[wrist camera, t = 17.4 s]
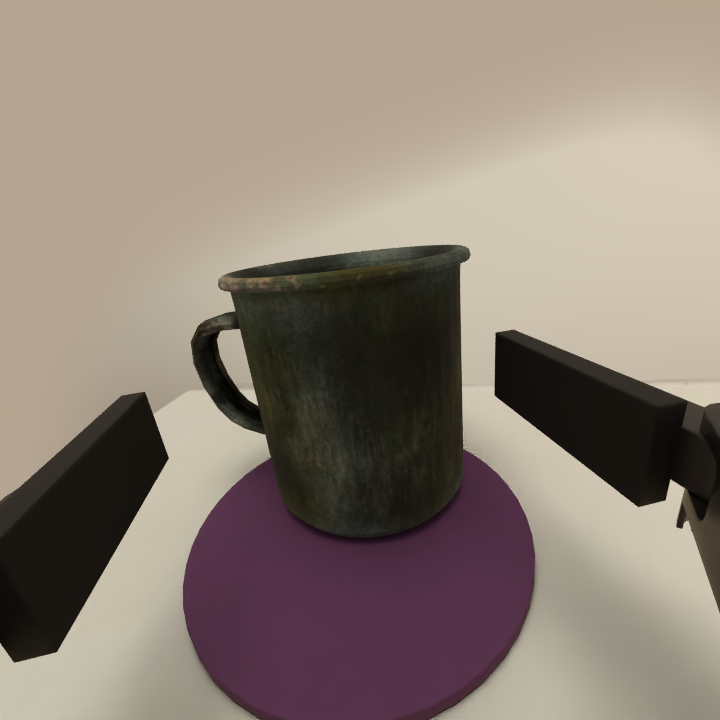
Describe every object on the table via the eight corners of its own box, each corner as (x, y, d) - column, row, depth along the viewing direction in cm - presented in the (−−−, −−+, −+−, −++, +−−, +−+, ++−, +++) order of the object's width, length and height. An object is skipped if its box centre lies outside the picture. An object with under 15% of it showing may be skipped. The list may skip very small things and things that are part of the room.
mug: (486, 565, 14) (488, 257, 10) (174, 540, 17) (79, 297, 13) (463, 424, 24) (460, 240, 20) (268, 424, 27) (231, 265, 23)
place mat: (192, 485, 22) (190, 477, 22) (412, 413, 27) (412, 407, 27) (168, 897, 8) (160, 887, 8) (631, 586, 13) (634, 575, 13)
